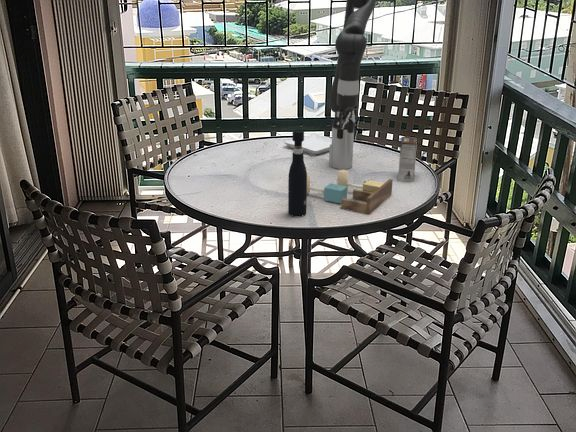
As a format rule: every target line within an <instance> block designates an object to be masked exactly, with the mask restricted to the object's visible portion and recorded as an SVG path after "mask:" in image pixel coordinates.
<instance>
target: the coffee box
mask: <svg viewBox="0 0 576 432" xmlns="http://www.w3.org/2000/svg"><path fill="white" fill-rule="evenodd" d="M417 146H418V137H415V136H414V137H413V136H401V141H400V148H399V162H398V173H397V174H398V175H397V181H398V182H399V181H400V182H414V181H415V180H414V179H415V178H414V177H415V171H416V158H417V149H418V148H417Z"/></svg>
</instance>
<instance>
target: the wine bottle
mask: <svg viewBox="0 0 576 432" xmlns="http://www.w3.org/2000/svg"><path fill="white" fill-rule="evenodd" d="M304 136H305V131H304V130H303V129H294V130H292V139H293V141H295V143H294V146H295V147H294V148H292V150H293V152H292V159H291V160H292V161H291V164H290V167H289V171H288V180H287V181H288V196H287V197H288V201H287V202H288V204H287V206H288V207H287V210H288V211H287V212H288V213H289V214H290V215H293V216H292V217H294V216H301V217H303V216H302V215H304V216H306V215H307V203H308V202H307V199H308V193H307V173H308V172H307V167H306V164H305V161H304V158H305V157H304V153H305V152H304V151H303V148H302V141H304ZM289 214H288V215H289ZM305 214H306V215H305ZM290 215H289V216H290Z"/></svg>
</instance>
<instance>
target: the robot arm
mask: <svg viewBox="0 0 576 432" xmlns="http://www.w3.org/2000/svg"><path fill="white" fill-rule="evenodd" d="M376 4H377V0H346V4H345V13H344V19H343V20H344V23H343V27H342V30H341V31H340V32H339V34H338V35H337V37H336V39H335V43H334V45H335V47H334V48H335V50H336V52H337V53H338V55H337V62H336V67H335V73H334V77H333V81H332V84H331V88H330V91H329V96H328V105H329V108H330V110H331V111H332V112H333V113H334V119H332V125H331V138H332V144H330V150H329V151H328V153H329V156H328V166H329V167H331V168H333V169H338V170H341V169H344V170H349V169H351V168H353V161H354V158H353V156H354V141H355V140H354V138H355V137H354V135H355V123H356V121H358V117H359V116H358V115H359V93H360V92H359V91H360V69H361V63H362V59H363V56H364V54H365V51H366V49H367V45H368V41H367V38H366V36H365V32H366V28H367V25H368V21H369V19H370V18H371V15H372V13H373V11H374V8H375V6H376ZM355 8H356V10H355Z"/></svg>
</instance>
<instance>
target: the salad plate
mask: <svg viewBox="0 0 576 432" xmlns="http://www.w3.org/2000/svg"><path fill="white" fill-rule="evenodd" d="M283 143H284V144H285V145H286V146H288V147H290V148H292V149H294V147H295V146H294V143H295V141H293V138H292V139H290V140H289V139H288V140H285V141H284V142H283ZM330 144H332V137H328V136H324V135H321V134H316V133H313V134H308V135H304V141H302V148H303V153H308V154H311V155H320V154H323V153H328V152H329V150H330Z"/></svg>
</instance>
